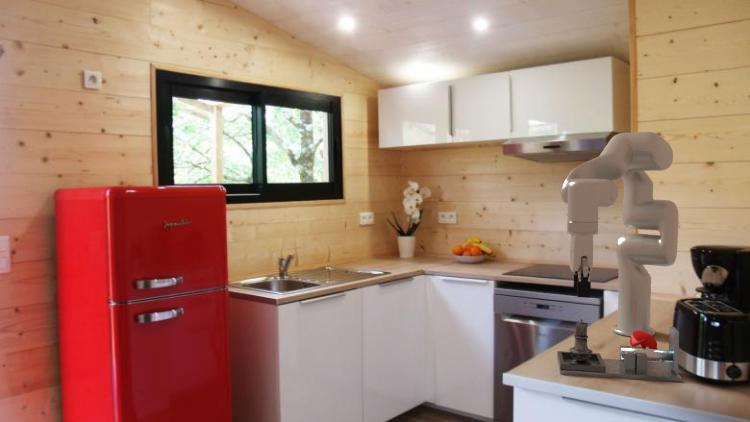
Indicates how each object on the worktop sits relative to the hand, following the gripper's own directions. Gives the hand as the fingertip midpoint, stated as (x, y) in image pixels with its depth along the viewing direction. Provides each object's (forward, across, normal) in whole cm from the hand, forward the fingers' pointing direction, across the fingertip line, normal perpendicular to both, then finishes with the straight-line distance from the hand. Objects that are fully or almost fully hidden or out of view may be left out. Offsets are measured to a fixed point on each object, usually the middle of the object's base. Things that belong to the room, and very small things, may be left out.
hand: (581, 293), depth 157 cm
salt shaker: (+19, 0, 0) cm, 19 cm away
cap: (+20, -18, +19) cm, 33 cm away
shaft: (+19, 0, +16) cm, 25 cm away
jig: (+20, 0, +9) cm, 22 cm away
